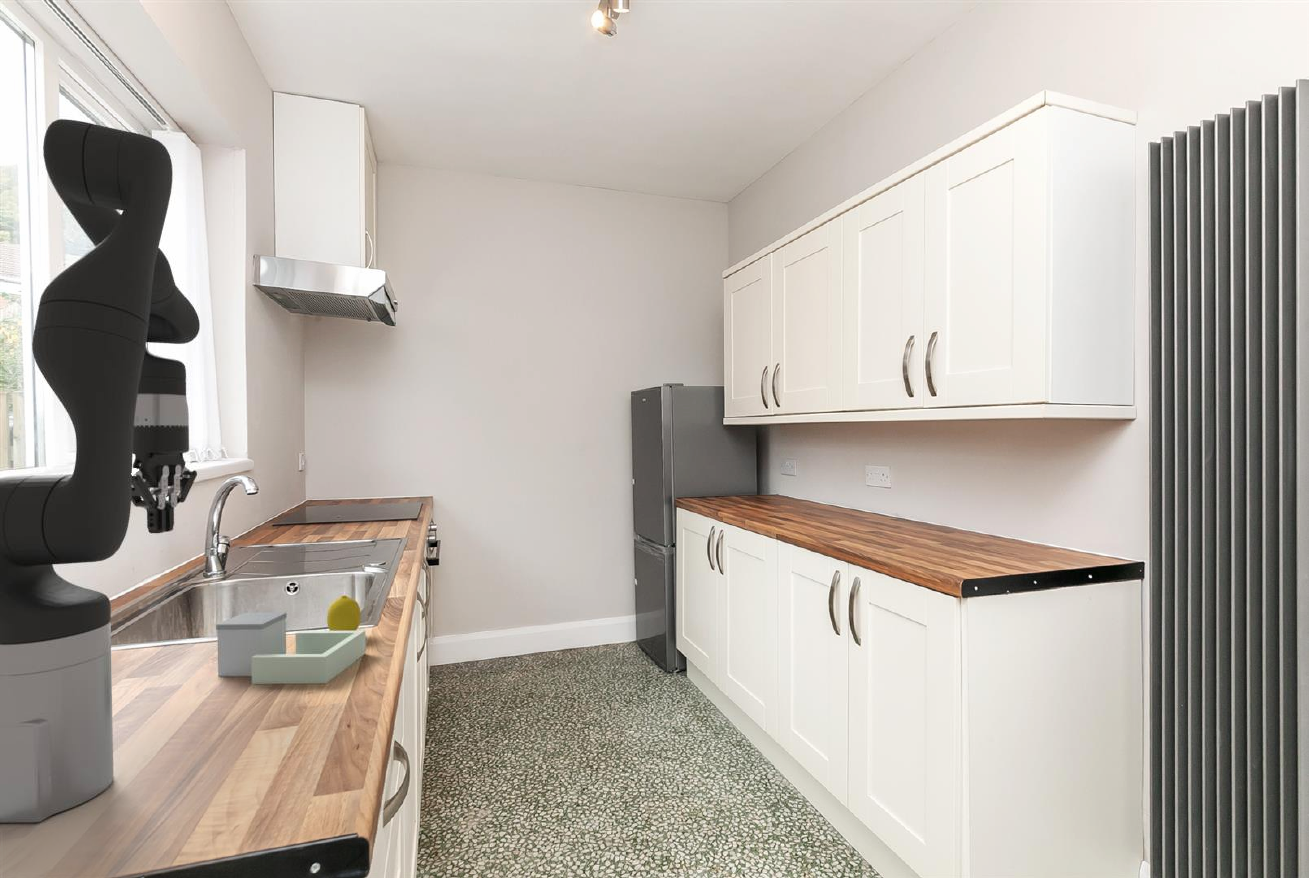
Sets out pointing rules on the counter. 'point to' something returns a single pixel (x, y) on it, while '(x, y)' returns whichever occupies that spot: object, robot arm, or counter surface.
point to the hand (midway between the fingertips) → (161, 531)
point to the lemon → (344, 615)
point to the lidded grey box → (249, 641)
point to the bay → (310, 658)
